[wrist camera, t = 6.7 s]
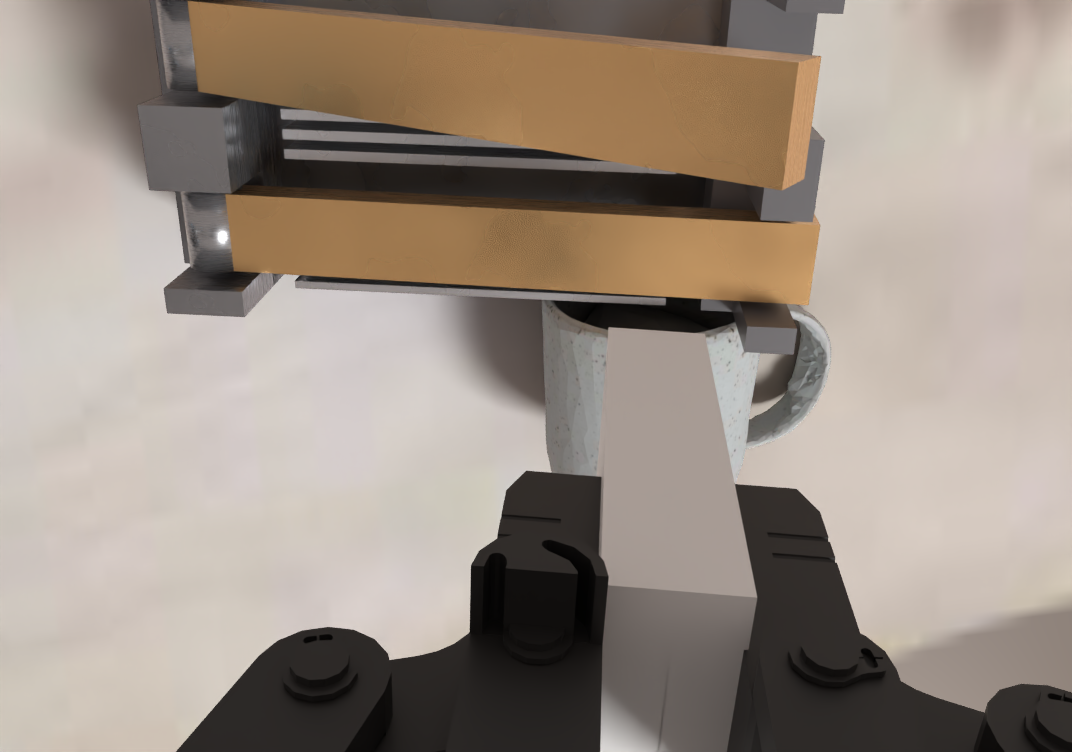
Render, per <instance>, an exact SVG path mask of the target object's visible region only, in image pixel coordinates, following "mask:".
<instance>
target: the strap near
mask: <svg viewBox="0 0 1072 752" xmlns="http://www.w3.org/2000/svg"><path fill="white" fill-rule="evenodd" d="M156 7H157V14H158V22H159V29H160V37H161V45H162V52H163V60H164V68H165V75H166V83H167V88H168V89H171V90H177V91H198V92H204V93H210V94H216V95H222V96H228V97H234V98H240V99H246V100H251V101H257V102H263V103H269V104H275V105H281V106H287V107H293V108H299V109H304V110H310V111H316V112H322V113H328V114H334V115H340V116H346V117H352V118H357V119H363V120H369V121H375V122H381V123H387V124H393V125H399V126H405V127H410V128H416V129H422V130H428V131H434V132H440V133H446V134H452V135H458V136H464V137H469V138H475V139H481V140H487V141H493V142H499V143H505V144H511V145H517V146H522V147H528V148H534V149H540V150H546V151H552V152H558V153H564V154H570V155H575V156H581V157H587V158H593V159H599V160H605V161H611V162H617V163H623V164H628V165H634V166H640V167H646V168H652V169H658V170H664V171H670V172H676V173H682V174H687V175H693V176H699V177H705V178H711V179H717V180H723V181H729V182H735V183H740V184H746V185H752V186H758V187H764V188H770V189H776V190H784V189H786V188H788V187H790V186H792V185H794V184H796V183H797V182H799V181H801V180H803V179H804V177H805V169H806V162H807V155H808V148H809V141H810V133H811V126H812V119H813V112H814V105H815V97H816V90H817V83H818V76H819V69H820V61H821V56H813V55H803V54H792V53H782V52H772V51H761V50H751V49H740V48H730V47H720V46H709V45H699V44H689V43H678V42H668V41H658V40H647V39H637V38H626V37H616V36H606V35H595V34H585V33H575V32H564V31H554V30H543V29H533V28H523V27H512V26H502V25H492V24H481V23H471V22H461V21H450V20H440V19H429V18H419V17H409V16H398V15H388V14H378V13H367V12H357V11H346V10H336V9H326V8H315V7H305V6H295V5H284V4H274V3H264V2H253V1H243V0H156Z"/></svg>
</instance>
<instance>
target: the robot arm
mask: <svg viewBox="0 0 1072 752" xmlns="http://www.w3.org/2000/svg"><path fill="white" fill-rule="evenodd" d="M176 752H1072V693H1071V692H1068V691H1065V690H1061V689H1058V688H1054V687H1051V686H1046V685H1029V684H1020V685H1016V686H1012V687H1009V688H1005V689H1002V690H999V691H998V692H997V694H996V695H995V696H994V697H993V698H992V699H991V700H990V701H989V702H988V704H987V707H986V710H985V713H984V712H980V711H977V710H974V709H971V708H967V707H964V706H961V705H958V704H955V703H951V702H948V701H945V700H942V699H939V698H936V697H933V696H931V695H928V694H925V693H923V692H921V691H918V690H916V689H914V688H912V687H910V686H908V685H906V684H905V683H903V682H901V681H900V678H899V675H898V672H897V670H896V668H895V666H894V665H893V663H892V662H891V660H890V659H889V657H888V655H887V654H886V652H885V651H884V650H882V649H881V648H880V647H879V646H877V645H876V644H875V643H874V642H872V641H871V640H870V639H869V638H867V637H866V636H864V635H862V634H860V632H859V629H858V625H857V622H856V619H855V616H854V613H853V610H852V607H851V604H850V601H849V598H848V595H847V592H846V589H845V586H844V583H843V580H842V577H841V574H840V571H839V568H838V565H837V563H835V556H834V553H833V550H832V547H831V544H830V542H828V535H827V532H826V529H825V526H824V523H823V520H822V517H821V514H820V512H819V511H818V510H817V509H816V508H815V507H814V506H813V505H812V504H811V503H810V502H809V501H808V500H807V499H806V498H805V497H804V496H803V495H802V494H801V493H800V492H799V491H798V490H797V489H790V488H777V487H764V486H751V485H738V484H735V483H734V478H733V473H732V467H731V462H730V457H729V452H728V447H727V442H726V437H725V432H724V427H723V422H722V417H721V412H720V407H719V402H718V397H717V392H716V387H715V382H714V377H713V372H712V367H711V362H710V356H709V351H708V346H707V341H706V336H705V334H699V333H685V332H670V331H656V330H641V329H627V328H612V327H609V328H608V341H607V353H606V366H605V378H604V391H603V403H602V416H601V428H600V441H599V453H598V466H597V476H586V475H573V474H560V473H547V472H534V471H526V472H525V473H524V474H523V475H522V476H521V477H520V478H519V479H517V480H516V481H515V482H514V483H513V484H512V485H511V486H510V487H509V488H508V489H507V490H506V495H505V500H504V505H503V510H502V517H501V520H500V525H499V530H498V538H497V539H496V540H495V541H493V542H492V543H490V544H489V545H487V546H486V547H484V548H483V549H481V550H480V551H479V553H478V554H477V556H476V558H475V560H474V561H473V563H472V565H471V599H470V632H469V634H467V635H466V636H465V637H463V638H462V639H460V640H459V641H458V642H456V643H455V644H453V645H451V646H448V647H446V648H444V649H441V650H439V651H437V652H432V653H428V654H424V655H420V656H415V657H408V658H401V659H395V660H389V657H388V653H387V652H386V651H385V650H384V649H383V648H382V647H381V646H380V645H379V644H378V643H377V641H376V640H375V639H373V638H371V637H368V636H366V635H364V634H362V633H359V632H357V631H355V630H350V629H341V628H332V627H325V628H318V629H311V630H304V631H300V632H298V633H295V634H293V635H291V636H288V637H286V638H283V639H281V640H278V641H277V642H276V643H274V644H273V645H272V646H271V647H269V648H268V649H267V650H266V651H264V652H263V653H262V654H261V655H260V656H258V658H257V659H256V660H255V661H254V662H253V663H252V665H251V666H250V667H249V668H248V669H247V670H246V671H245V673H244V674H243V675H242V676H241V677H240V678H239V680H238V681H237V682H236V683H235V684H234V685H233V686H232V688H231V689H230V690H229V691H228V692H227V693H226V695H225V696H224V697H223V698H222V699H221V700H220V702H219V703H218V704H217V705H216V706H215V707H214V708H213V710H212V711H211V712H210V713H209V714H208V715H207V717H206V718H205V719H204V720H203V721H202V722H201V723H200V725H199V726H198V727H197V728H196V729H195V730H194V732H193V733H192V734H191V735H190V736H189V737H188V738H187V740H186V741H185V742H184V743H183V744H182V745H181V747H180V748H179V749H178V750H177V751H176Z"/></svg>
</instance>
